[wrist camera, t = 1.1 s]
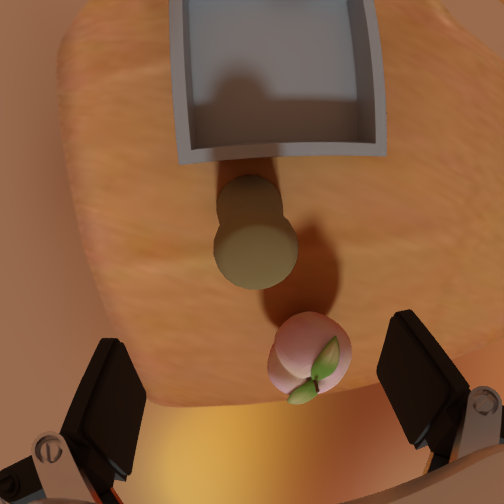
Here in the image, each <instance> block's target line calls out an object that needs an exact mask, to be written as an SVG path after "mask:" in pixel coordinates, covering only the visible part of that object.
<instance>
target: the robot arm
mask: <svg viewBox="0 0 504 504" xmlns="http://www.w3.org/2000/svg"><path fill="white" fill-rule="evenodd" d="M377 376H378V379H379V381H380V383H381V384H382V386H383V388H384V391H385V393H386V395H387V397H388V399H389V401H390V403H391V405H392V407H393V409H394V411H395V413H396V415H397V418H398V420H399V422H400V424H401V426H402V428H403V431H404V433H405V435H406V437H407V439H408V441H409V443H410V444H414V446H415V449H416V450H417V449H420V448H422V447H425V446H427V445H428V446H429V448H430V450H431V451H430V454H429V458H428V460H427V463H426V466H425V469H424V472H423V475H422V476H420V477H418V478H415V479H413V480H411V481H408V482H406V483H403V484H400V485H398V486H395V487H393V488H390V489H387V490H384V491H381V492H378V493H375V494H372V495H368V496H365V497H362V498H358V499H355V500H351V501H348V502H343V503H339V504H504V406H503V405H502V400H501V398H500V396H499V394H498V393H497V392H496V391H495V390H494V389H492V388H490V387H487V386H479V387H476V388H474V389H473V390H472V391H471V390H470V389H469V387H470V386H469V384H468V383H467V381H466V380H465V379H464V377H463V376H462V374H461V373H460V372H459V370H458V369H457V368H456V366H455V365H454V363H453V362H452V361H451V359H450V358H449V357H448V355H447V354H446V353H445V351H444V350H443V349H442V347H441V346H440V345H439V343H438V342H437V341H436V340H435V338H434V337H433V336H432V334H431V333H430V332H429V331H428V329H427V328H426V327H425V326H424V324H423V323H422V322H421V321H420V319H419V318H418V317H417V316H416V314H415V313H414V312H413V311H412V310H410V309H409V310H404V311H399V312H396V313H395V314H394V317H391V319H390V322H389V326H388V330H387V334H386V338H385V342H384V345H383V349H382V352H381V356H380V359H379V362H378V365H377ZM145 403H146V391H145V389H144V387H143V385H142V383H141V381H140V379H139V377H138V374H137V372H136V370H135V368H134V366H133V363H132V361H131V359H130V357H129V354H128V352H127V350H126V347H125V345H124V343H122V342H120V341H119V340H118V339H117V338H102V339H101V340H100V342H99V344H98V346H97V348H96V350H95V352H94V354H93V356H92V358H91V361H90V363H89V365H88V367H87V369H86V372H85V374H84V376H83V377H82V380H81V382H80V384H79V386H78V389H77V391H76V393H75V396H74V398H73V401H72V403H71V405H70V408H69V410H68V413H67V415H66V418H65V420H64V423H63V426H62V428H61V431H60V433H56V432H50V431H49V432H45V433H42V434H41V435H39V436H38V437H37V438H36V439H35V440H34V442H33V444H32V449H31V453H32V455H31V456H29V457H27V458H25V459H23V460H21V461H19V462H17V463H15V464H13V465H11V466H9V467H7V468H5V469H3V470H1V471H0V504H124V503H123V502H122V501H121V499H120V497H119V496H118V494H117V493H116V491H115V490H114V488H113V483H114V480H120V481H125V482H126V478H127V475H130V474H131V472H132V467H133V461H134V456H135V450H136V445H137V440H138V435H139V430H140V426H141V421H142V416H143V412H144V407H145Z"/></svg>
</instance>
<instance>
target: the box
mask: <svg viewBox="0 0 504 504" xmlns="http://www.w3.org/2000/svg"><path fill="white" fill-rule="evenodd" d="M169 34H170V60H171V78H172V94H173V107H174V119H175V130H176V141H177V151H178V160H179V165H184V164H192V163H201V162H211V161H221V160H233V159H245V158H261V157H280V156H311V155H356V156H386V155H387V128H386V99H385V83H384V71H383V60H382V51H381V43H380V36H379V29H378V22H377V16H376V11H375V5H374V0H169Z"/></svg>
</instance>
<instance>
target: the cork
mask: <svg viewBox="0 0 504 504" xmlns="http://www.w3.org/2000/svg"><path fill="white" fill-rule="evenodd" d="M217 215H218V219H219V223H220V226H219V228H218V231H217V233H216V236H215V239H214V252H213V254H214V257H215V260H216V263H217V266H218V269H219V270H220V271H221V273H222V274H223V275H224V277H225V278H226V279H227V280H229V281H230V282H232V283H233V284H234V285H236V286H239V287H242V288H245V289H252V290H261V289H265V288H270V287H272V286H274V285H276V284H278V283H280V282H281V281H283V280H284V279H285V278H286V277H287V276H288V275H289V274H290V273H291V271H292V269H293V267H294V265H295V264H296V261H297V255H298V248H299V246H298V240H297V235H296V233H295V231H294V229H293V228H292V226H291V224H290V223H289V221H288V220H287V219H286V218H285V217H284V216H283V204H282V200H281V195H280V194H279V192H278V190H277V189H276V187H275V186H274V185H273V184H272V183H271V182H269V181H268V180H267V179H264V178H262V177H259V176H253V175H245V176H241V177H237V178H235V179H234V180H232V181H230V182H229V183H227V184H226V186H225V187H224V188H223V189H222V190H221V192H220V194H219V197H218V199H217Z"/></svg>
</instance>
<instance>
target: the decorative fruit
mask: <svg viewBox="0 0 504 504" xmlns="http://www.w3.org/2000/svg"><path fill="white" fill-rule="evenodd" d="M351 357H352V348H351V342H350V339H349V337H348V335H347V333H346V332H345V331H344V329H343V328H342V327H341V326H340V325H339V324H338V323H336V322H335V321H334V320H332V319H330V318H329V317H327V316H325V315H323V314H321V313H317V312H312V311H307V312H301V313H298V314H296V315H293V316H292V317H290V318H289V319H288V320H286V321H285V322H284V323H283V324H282V325H281V326H280V328H279V329H278V331H277V332H276V335H275V340H274V344H273V345H272V348H271V350H270V354H269V358H268V365H267V371H268V376H269V378H270V380H271V382H272V383H273V384H274V385H275V387H277V388H278V389H279V390H280V391H282V392H284V393H286V394H289V395H290V396H289V397H288V399H287V401H288V402H289V403H291V404H302V403H305V402H308V401H310V400H311V399H312V398H314V397H315V396H316V395H317V394H319V393H322V392H325V391H327V390H329V389H331V388H333V387H334V386H335V385H336V384H337V383H338V382H339V381H340V380H341V379H342V377H343V376H344V374H345V373H346V371H347V369H348V367H349V364H350V361H351Z"/></svg>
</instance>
